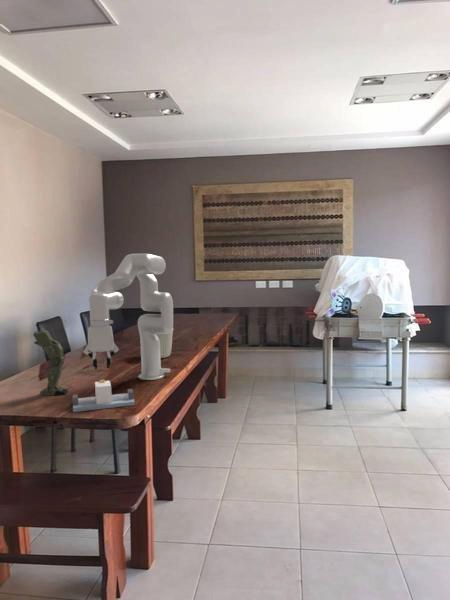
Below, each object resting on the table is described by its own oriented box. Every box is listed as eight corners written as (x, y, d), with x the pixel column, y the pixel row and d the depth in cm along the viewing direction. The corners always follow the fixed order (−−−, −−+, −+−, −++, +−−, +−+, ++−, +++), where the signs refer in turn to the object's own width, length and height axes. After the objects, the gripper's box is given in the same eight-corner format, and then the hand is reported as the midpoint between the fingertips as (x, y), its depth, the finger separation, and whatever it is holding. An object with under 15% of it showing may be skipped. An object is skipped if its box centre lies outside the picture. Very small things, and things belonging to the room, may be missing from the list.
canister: (177, 353, 293) (176, 319, 291) (171, 360, 275) (170, 324, 273) (148, 353, 295) (147, 319, 293) (140, 360, 277) (139, 324, 275)
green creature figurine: (76, 388, 217) (57, 325, 214) (72, 393, 210) (52, 328, 207) (47, 396, 217) (27, 333, 214) (41, 401, 210) (21, 336, 207)
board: (131, 396, 206) (131, 393, 205) (134, 405, 194) (134, 401, 194) (73, 403, 199) (73, 399, 198) (73, 411, 187) (72, 408, 187)
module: (110, 396, 201) (109, 378, 200) (111, 402, 193) (111, 383, 192) (95, 398, 199) (94, 380, 199) (96, 404, 191) (95, 385, 191)
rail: (132, 395, 202) (132, 388, 202) (133, 399, 197) (133, 391, 197) (73, 401, 195) (72, 394, 195) (72, 405, 190) (72, 398, 190)
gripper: (120, 321, 199) (122, 364, 201) (78, 323, 194) (80, 367, 196) (121, 323, 192) (123, 368, 194) (78, 326, 187) (80, 372, 189)
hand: (102, 367), depth 195 cm, fingers open, 4 cm apart
